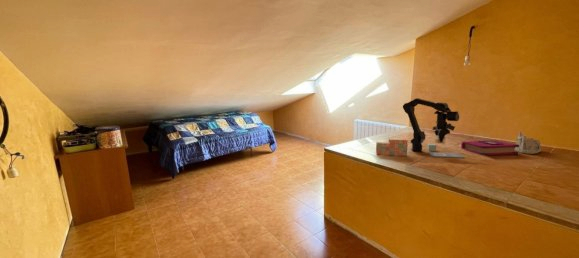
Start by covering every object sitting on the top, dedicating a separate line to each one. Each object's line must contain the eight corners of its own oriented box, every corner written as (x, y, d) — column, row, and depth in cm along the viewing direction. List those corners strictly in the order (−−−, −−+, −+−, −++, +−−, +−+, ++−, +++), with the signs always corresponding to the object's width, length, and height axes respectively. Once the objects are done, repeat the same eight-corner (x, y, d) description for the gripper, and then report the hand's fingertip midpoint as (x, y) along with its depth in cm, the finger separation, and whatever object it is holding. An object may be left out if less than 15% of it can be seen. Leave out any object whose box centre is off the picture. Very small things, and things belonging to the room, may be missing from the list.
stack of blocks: (376, 155, 186) (377, 139, 184) (375, 153, 192) (376, 137, 190) (407, 156, 180) (407, 139, 179) (405, 154, 186) (406, 138, 185)
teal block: (428, 151, 193) (429, 145, 192) (427, 149, 198) (427, 143, 197) (435, 151, 192) (436, 145, 191) (434, 149, 197) (434, 143, 196)
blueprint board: (432, 157, 175) (432, 155, 175) (427, 153, 187) (428, 152, 187) (464, 158, 170) (464, 157, 170) (457, 154, 181) (457, 153, 181)
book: (460, 149, 197) (461, 140, 196) (493, 148, 198) (494, 139, 197) (482, 156, 176) (483, 145, 175) (519, 154, 177) (520, 144, 176)
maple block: (437, 143, 176) (437, 136, 176) (435, 142, 181) (435, 135, 180) (445, 143, 175) (445, 136, 174) (442, 142, 180) (443, 135, 179)
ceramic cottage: (521, 153, 179) (523, 133, 177) (510, 148, 194) (512, 130, 192) (549, 154, 173) (551, 134, 171) (536, 149, 188) (538, 130, 186)
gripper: (459, 121, 165) (457, 144, 167) (449, 118, 182) (448, 139, 185) (440, 121, 168) (439, 143, 170) (432, 118, 185) (431, 139, 188)
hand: (440, 141), depth 178 cm, fingers closed on maple block, 5 cm apart
